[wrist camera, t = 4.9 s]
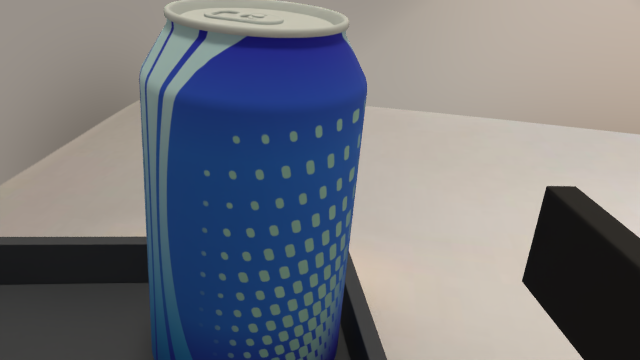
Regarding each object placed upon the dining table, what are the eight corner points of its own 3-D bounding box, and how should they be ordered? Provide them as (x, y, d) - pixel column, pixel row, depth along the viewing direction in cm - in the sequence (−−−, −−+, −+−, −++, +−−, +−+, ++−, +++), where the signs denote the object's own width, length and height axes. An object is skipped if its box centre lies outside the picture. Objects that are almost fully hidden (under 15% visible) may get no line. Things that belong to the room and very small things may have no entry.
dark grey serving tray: (-246, 551, 19) (-278, 483, 18) (-52, 286, 32) (-63, 236, 31) (404, 500, 22) (416, 441, 21) (338, 280, 35) (343, 236, 34)
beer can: (277, 289, 33) (295, -7, 27) (370, 384, 27) (424, 29, 20) (127, 336, 29) (104, -7, 22) (199, 464, 22) (196, 40, 16)
